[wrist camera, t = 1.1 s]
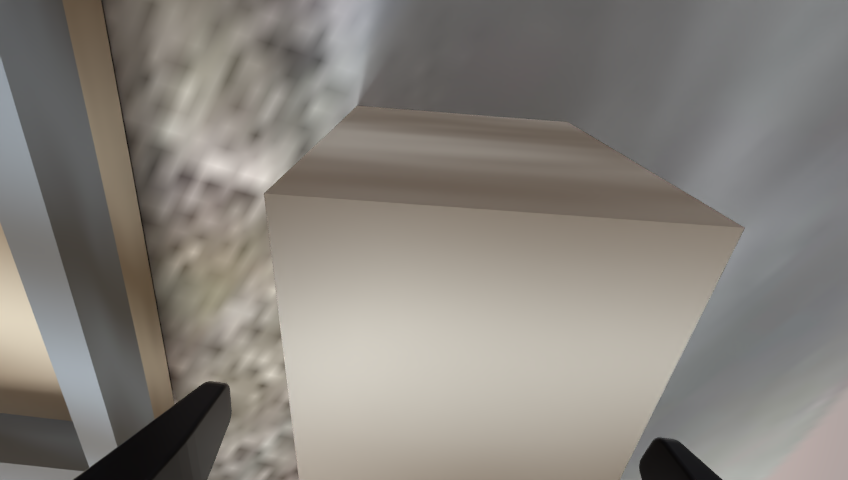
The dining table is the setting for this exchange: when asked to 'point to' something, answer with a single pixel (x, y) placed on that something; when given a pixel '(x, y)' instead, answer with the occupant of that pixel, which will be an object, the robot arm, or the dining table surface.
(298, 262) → the block
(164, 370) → the jig board
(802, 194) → the dining table surface
